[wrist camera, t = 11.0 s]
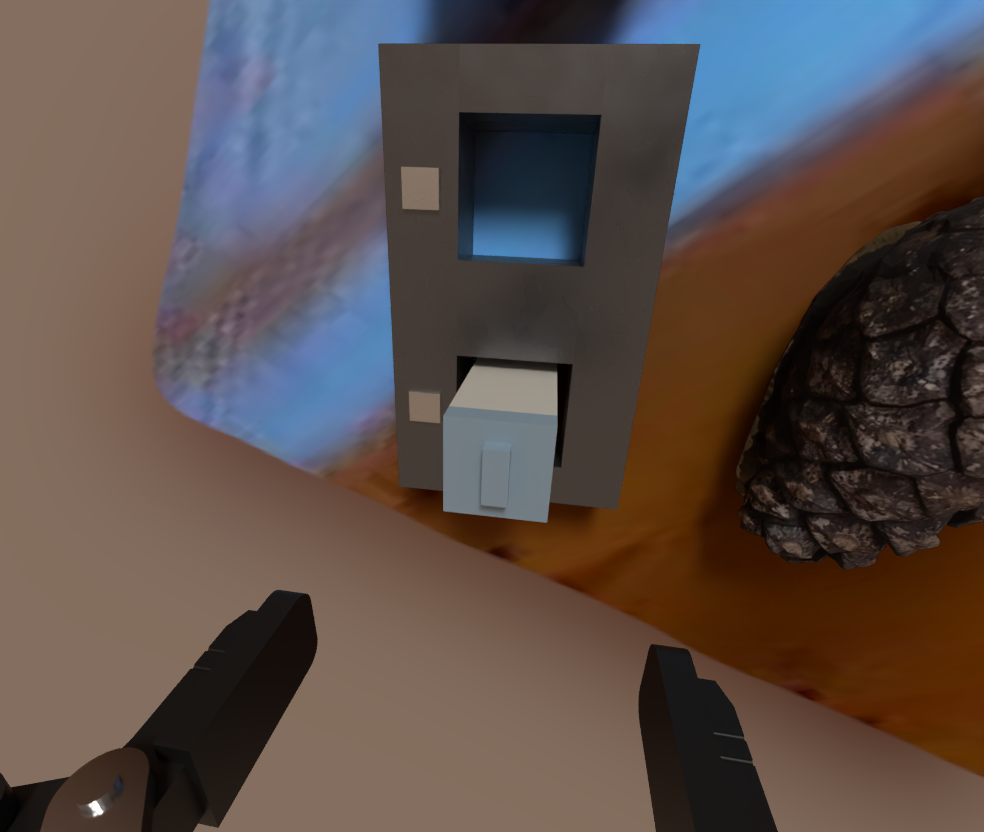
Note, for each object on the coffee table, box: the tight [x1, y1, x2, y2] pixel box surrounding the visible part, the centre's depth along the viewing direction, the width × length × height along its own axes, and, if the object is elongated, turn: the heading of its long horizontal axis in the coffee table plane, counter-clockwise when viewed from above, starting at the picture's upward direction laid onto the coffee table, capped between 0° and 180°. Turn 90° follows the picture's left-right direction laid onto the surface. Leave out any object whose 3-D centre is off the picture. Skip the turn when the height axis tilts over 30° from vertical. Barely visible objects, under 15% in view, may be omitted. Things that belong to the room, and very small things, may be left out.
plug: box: [443, 357, 557, 523], centre depth 22 cm, size 4×4×11 cm
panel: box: [378, 44, 700, 510], centre depth 23 cm, size 12×20×4 cm, turn 178°
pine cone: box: [736, 196, 984, 570], centre depth 19 cm, size 10×18×10 cm, turn 168°
